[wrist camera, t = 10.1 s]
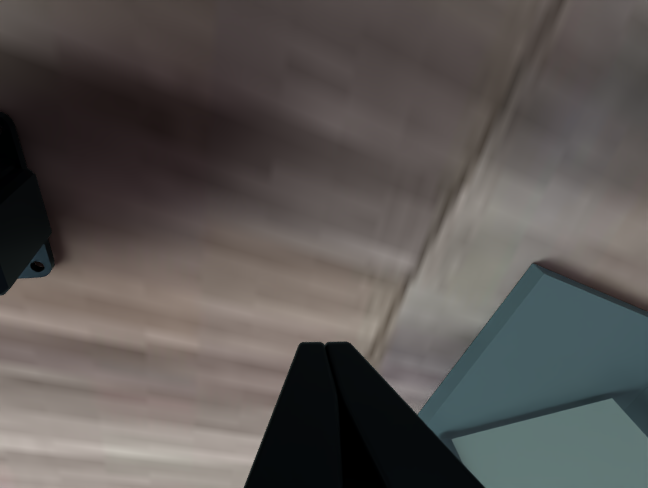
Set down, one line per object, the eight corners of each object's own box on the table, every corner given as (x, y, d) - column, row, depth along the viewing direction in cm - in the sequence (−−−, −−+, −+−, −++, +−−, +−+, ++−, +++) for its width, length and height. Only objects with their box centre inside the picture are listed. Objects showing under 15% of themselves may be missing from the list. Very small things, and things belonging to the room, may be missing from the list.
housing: (401, 436, 28) (424, 499, 25) (532, 263, 23) (584, 311, 20) (555, 470, 32) (592, 527, 29) (692, 330, 28) (757, 380, 24)
